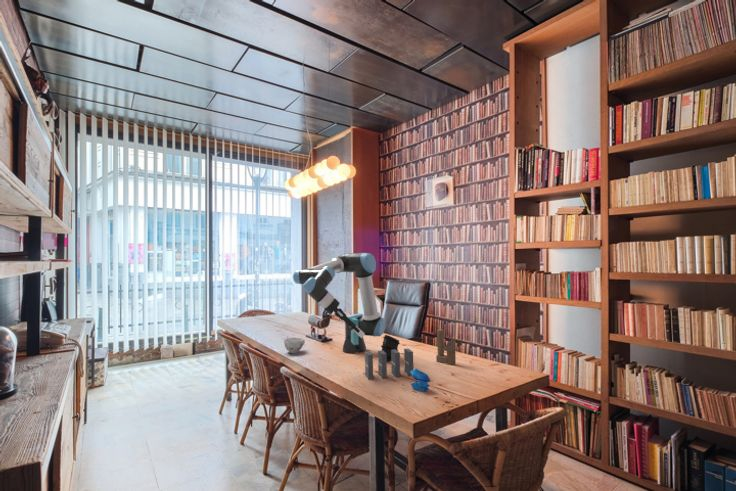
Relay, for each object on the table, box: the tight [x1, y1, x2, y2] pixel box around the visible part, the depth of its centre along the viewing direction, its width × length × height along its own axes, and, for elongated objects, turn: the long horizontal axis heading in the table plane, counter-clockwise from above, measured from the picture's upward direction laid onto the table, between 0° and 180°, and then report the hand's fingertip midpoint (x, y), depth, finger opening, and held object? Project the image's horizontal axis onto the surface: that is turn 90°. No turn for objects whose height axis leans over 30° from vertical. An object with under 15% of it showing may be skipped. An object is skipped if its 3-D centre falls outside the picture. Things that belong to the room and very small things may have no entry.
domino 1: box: [364, 350, 374, 381], centre depth 184 cm, size 2×7×12 cm, turn 13°
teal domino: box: [351, 318, 358, 345], centre depth 182 cm, size 2×7×12 cm, turn 13°
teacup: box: [283, 337, 306, 354], centre depth 235 cm, size 15×12×8 cm
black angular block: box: [380, 334, 401, 363], centre depth 213 cm, size 4×13×15 cm, turn 135°
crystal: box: [410, 368, 432, 392], centre depth 166 cm, size 7×9×12 cm
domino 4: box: [403, 348, 414, 377], centre depth 188 cm, size 2×7×12 cm, turn 13°
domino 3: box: [390, 349, 401, 378], centre depth 187 cm, size 2×7×12 cm, turn 13°
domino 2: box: [377, 349, 388, 379], centre depth 185 cm, size 2×7×12 cm, turn 13°
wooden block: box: [435, 329, 457, 366], centre depth 207 cm, size 4×11×18 cm, turn 43°
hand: (361, 334), depth 183 cm, fingers closed on teal domino, 7 cm apart
